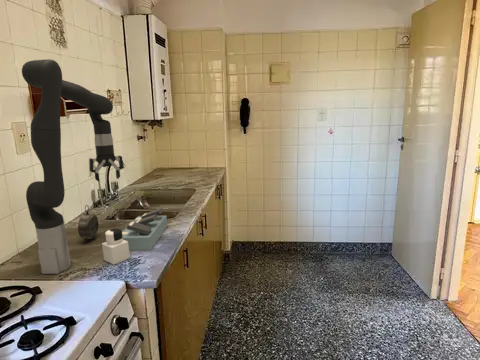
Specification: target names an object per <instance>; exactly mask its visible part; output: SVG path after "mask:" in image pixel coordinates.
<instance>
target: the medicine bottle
mask: <svg viewBox="0 0 480 360" xmlns="http://www.w3.org/2000/svg"><path fill="white" fill-rule="evenodd" d="M122 232H123V230H122V229H121V228H110V229H108V230H106V231H105V232H104V234H105V242H102V243H101V247H102V254H103V255H102V256H103V260H104V261H106V262H108V263H109V264H112V265H117V264H119V263H121V262H124V261H126V260H129V259H130V258H131V257H130V250H129V246H128V241H125V240H123V236H122Z"/></svg>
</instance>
